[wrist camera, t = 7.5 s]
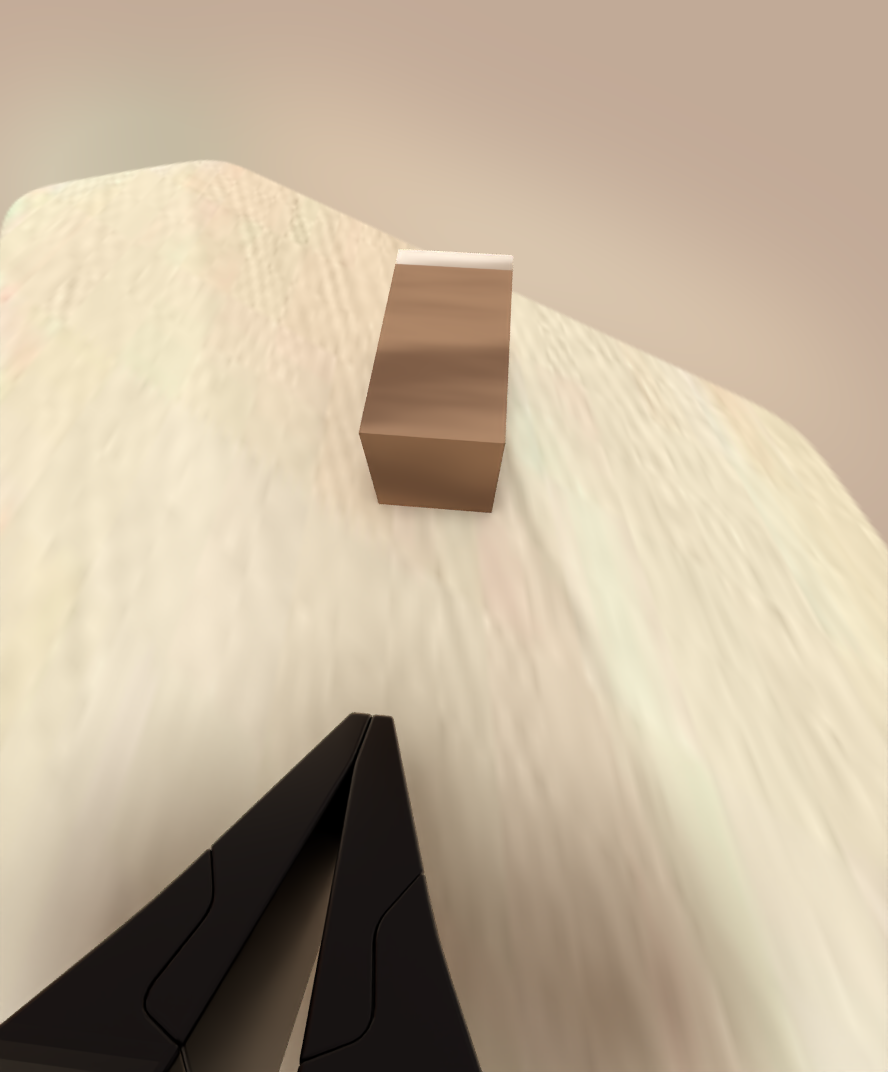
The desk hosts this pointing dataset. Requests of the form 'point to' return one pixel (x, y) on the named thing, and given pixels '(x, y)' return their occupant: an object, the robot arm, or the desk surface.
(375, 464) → the beige tall block
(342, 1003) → the robot arm
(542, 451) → the desk surface
